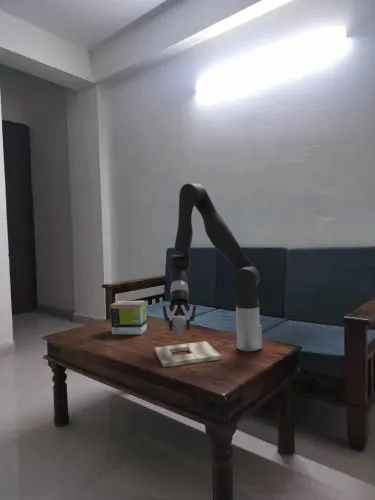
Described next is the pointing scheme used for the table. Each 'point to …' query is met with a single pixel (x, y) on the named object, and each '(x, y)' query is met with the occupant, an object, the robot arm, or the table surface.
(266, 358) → the table surface
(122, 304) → the tea box
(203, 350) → the cream board with hole
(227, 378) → the table surface
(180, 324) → the light bulb
